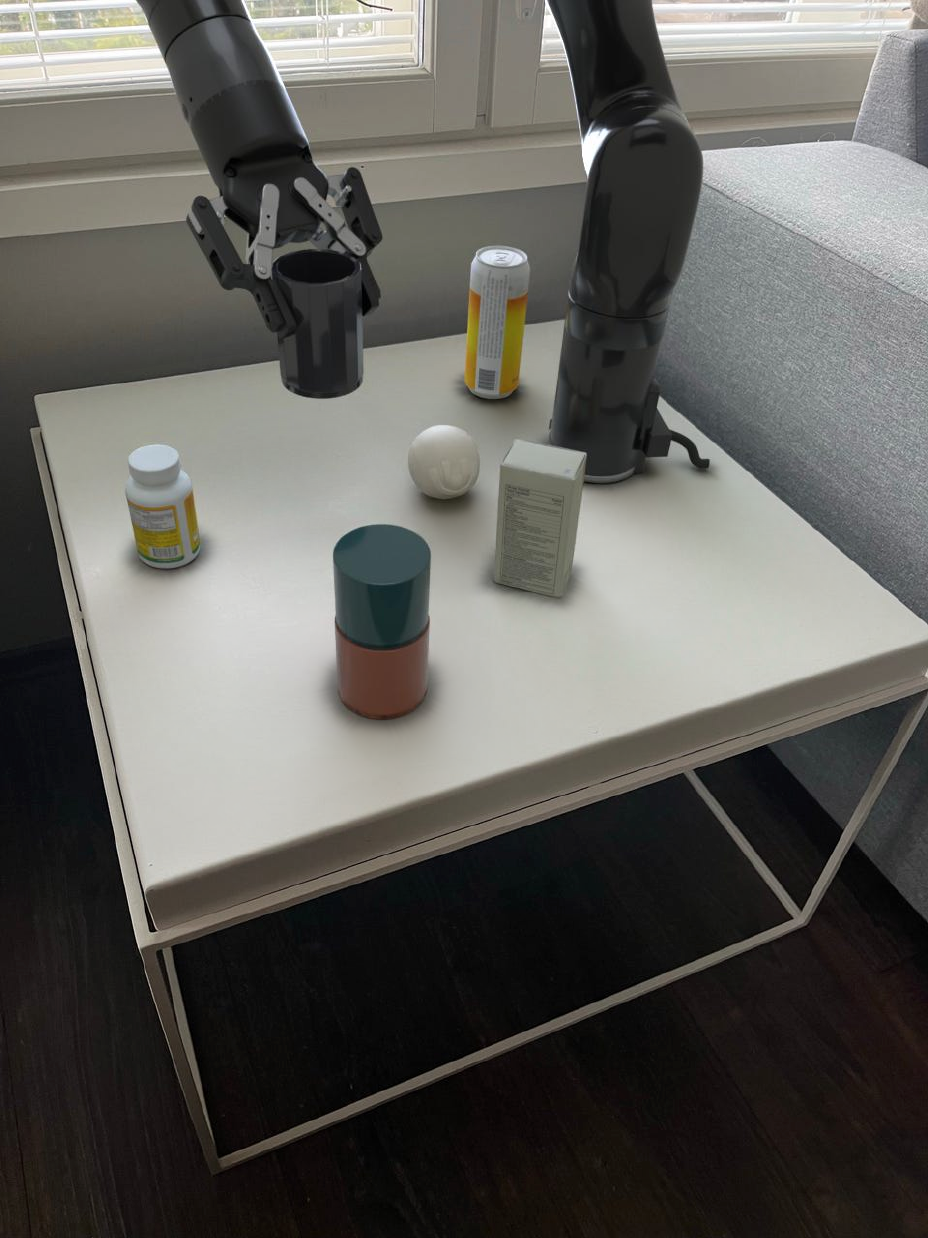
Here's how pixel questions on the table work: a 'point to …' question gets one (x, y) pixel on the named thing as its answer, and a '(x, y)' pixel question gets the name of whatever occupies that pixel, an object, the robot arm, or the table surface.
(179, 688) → the table surface
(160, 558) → the supplement bottle
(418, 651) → the teal and red cylinder
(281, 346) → the cup
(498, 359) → the beer can
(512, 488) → the cosmetic box
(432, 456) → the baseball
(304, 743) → the table surface
